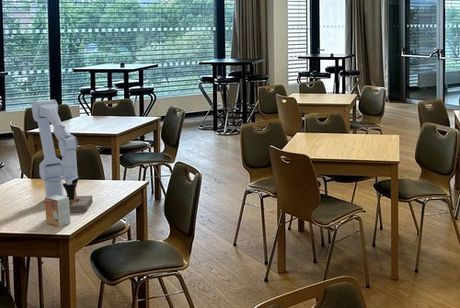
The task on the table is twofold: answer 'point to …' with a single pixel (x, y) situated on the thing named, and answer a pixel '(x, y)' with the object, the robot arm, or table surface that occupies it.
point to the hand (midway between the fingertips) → (72, 197)
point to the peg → (74, 197)
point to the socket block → (80, 204)
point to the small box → (57, 210)
